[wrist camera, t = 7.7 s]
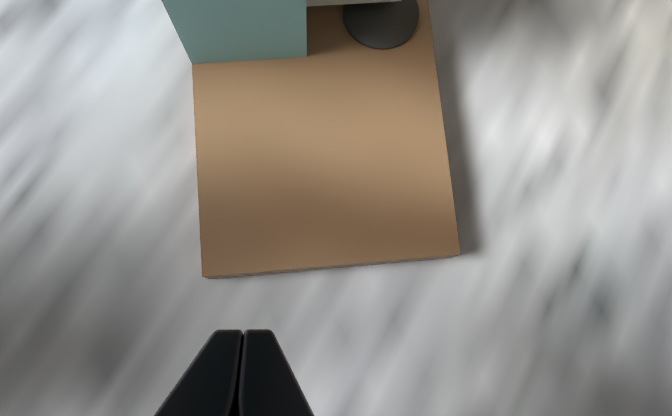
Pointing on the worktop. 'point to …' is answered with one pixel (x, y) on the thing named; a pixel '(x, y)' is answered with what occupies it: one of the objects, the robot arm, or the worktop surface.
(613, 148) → the worktop surface
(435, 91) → the board
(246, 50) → the block
